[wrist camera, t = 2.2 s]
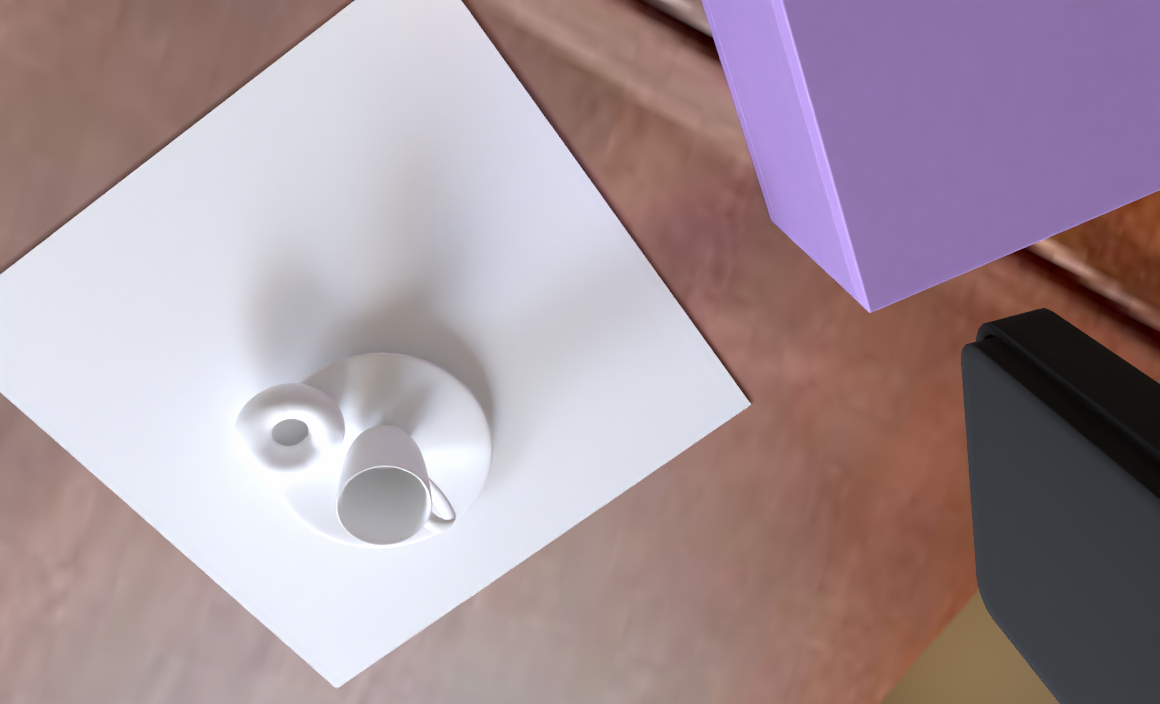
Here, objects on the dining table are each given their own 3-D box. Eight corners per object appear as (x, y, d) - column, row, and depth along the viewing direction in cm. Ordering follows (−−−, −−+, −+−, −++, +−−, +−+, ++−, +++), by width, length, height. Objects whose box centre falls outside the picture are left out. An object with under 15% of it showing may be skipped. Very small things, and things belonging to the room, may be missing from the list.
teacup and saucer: (203, 419, 38) (184, 479, 34) (384, 286, 37) (385, 334, 33) (365, 576, 42) (364, 646, 38) (533, 459, 41) (549, 518, 37)
